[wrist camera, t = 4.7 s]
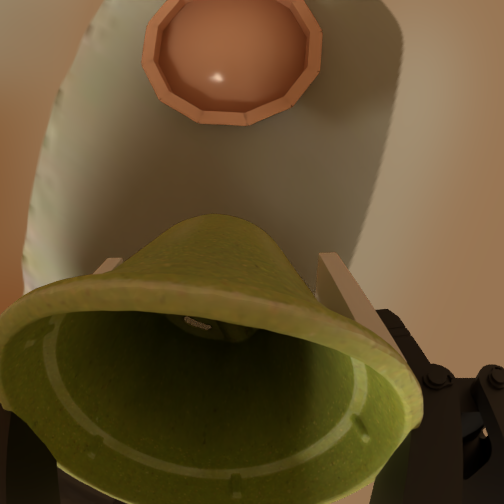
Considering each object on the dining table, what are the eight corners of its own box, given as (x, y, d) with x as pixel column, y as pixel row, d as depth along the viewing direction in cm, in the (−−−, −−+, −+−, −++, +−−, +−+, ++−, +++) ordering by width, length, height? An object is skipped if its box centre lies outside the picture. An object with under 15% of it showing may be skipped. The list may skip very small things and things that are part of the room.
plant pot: (365, 227, 12) (503, 372, 4) (270, 380, 15) (283, 529, 7) (151, 136, 10) (-40, 168, 2) (103, 322, 13) (28, 461, 5)
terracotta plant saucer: (252, 156, 24) (253, 159, 22) (123, 78, 21) (112, 74, 18) (344, 39, 20) (353, 31, 17) (215, -33, 16) (212, -46, 14)
